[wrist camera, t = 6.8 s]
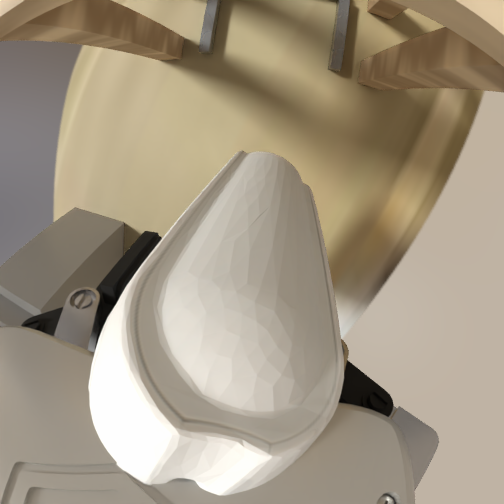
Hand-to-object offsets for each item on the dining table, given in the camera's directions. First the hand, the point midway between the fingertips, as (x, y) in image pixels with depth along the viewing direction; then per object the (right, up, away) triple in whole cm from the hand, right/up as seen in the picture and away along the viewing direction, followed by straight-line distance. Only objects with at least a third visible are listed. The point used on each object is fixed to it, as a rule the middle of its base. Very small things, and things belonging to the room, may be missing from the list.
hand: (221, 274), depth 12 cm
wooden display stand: (+3, +19, +3) cm, 19 cm away
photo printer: (0, +2, +3) cm, 3 cm away
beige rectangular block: (-16, +2, +15) cm, 22 cm away
